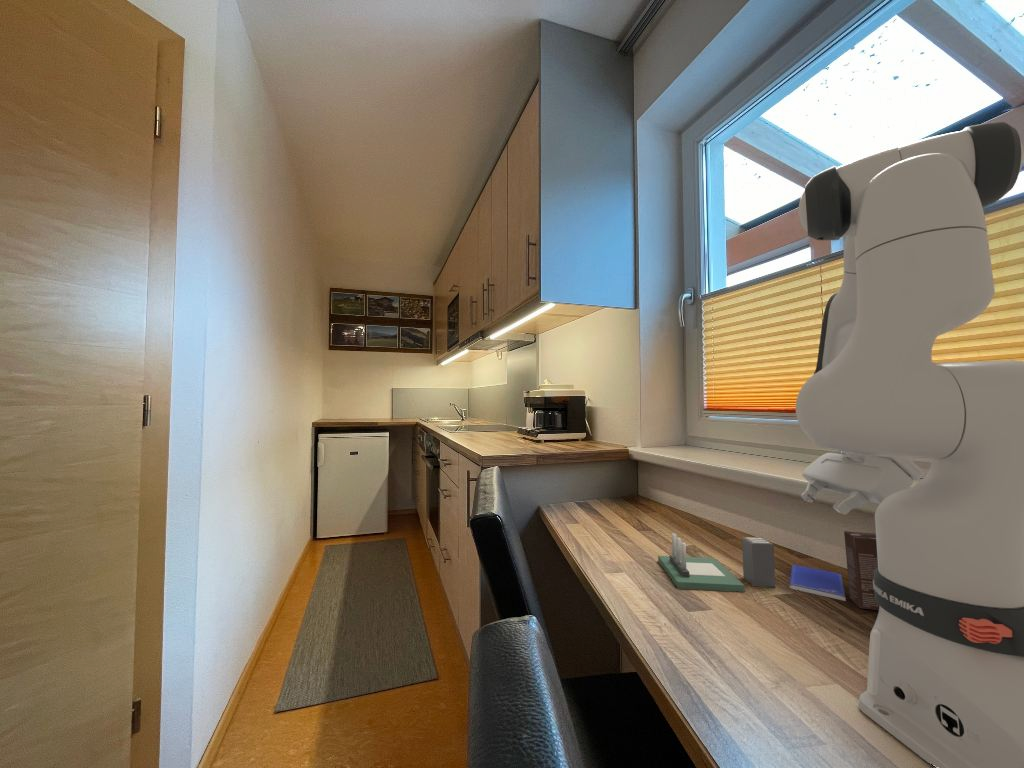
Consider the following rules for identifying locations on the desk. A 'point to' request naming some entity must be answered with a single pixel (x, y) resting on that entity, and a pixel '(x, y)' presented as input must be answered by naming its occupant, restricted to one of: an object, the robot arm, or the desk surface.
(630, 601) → the desk surface
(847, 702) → the desk surface
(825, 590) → the hard drive
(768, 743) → the desk surface
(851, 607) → the desk surface
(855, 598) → the box
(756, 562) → the plug
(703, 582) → the header board
